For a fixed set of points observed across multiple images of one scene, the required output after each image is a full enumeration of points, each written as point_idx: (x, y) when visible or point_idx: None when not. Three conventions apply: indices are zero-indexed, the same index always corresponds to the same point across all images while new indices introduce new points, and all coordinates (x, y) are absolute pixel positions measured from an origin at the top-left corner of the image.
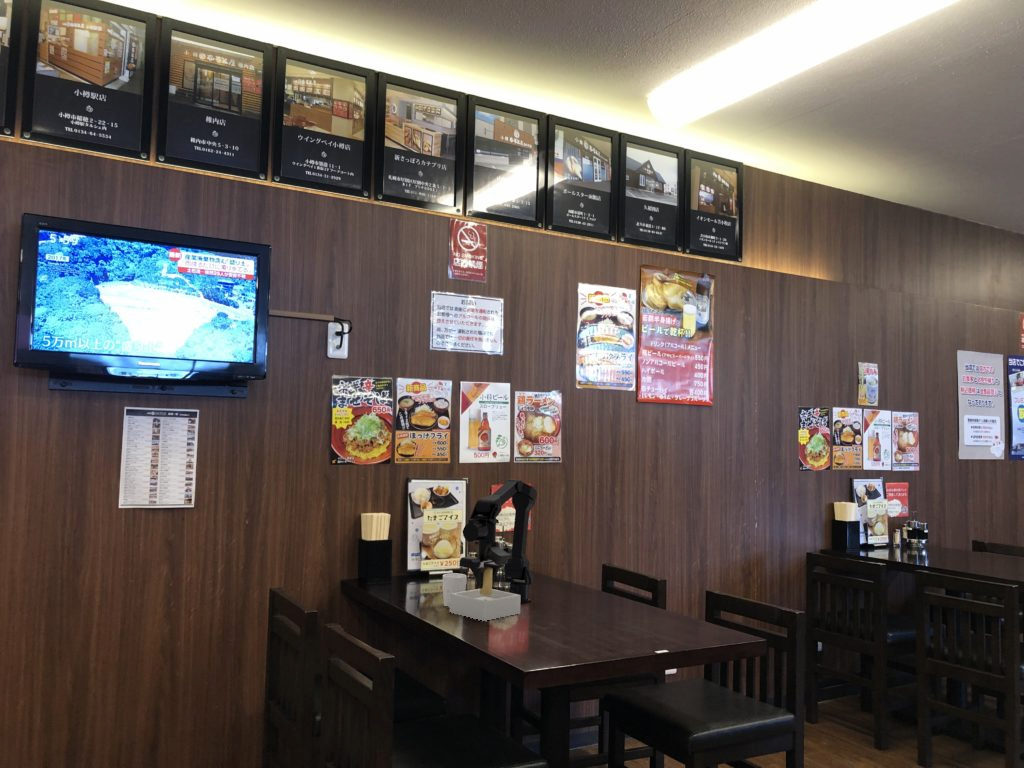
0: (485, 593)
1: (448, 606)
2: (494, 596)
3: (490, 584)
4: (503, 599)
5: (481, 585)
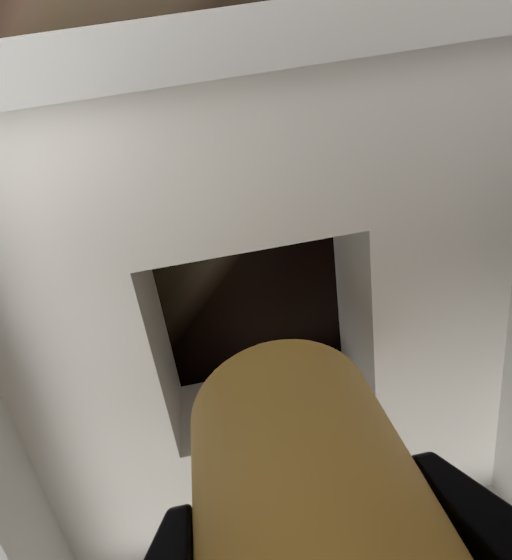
0: (348, 367)
1: None
2: (35, 498)
3: (303, 462)
4: (214, 9)
5: (472, 480)
